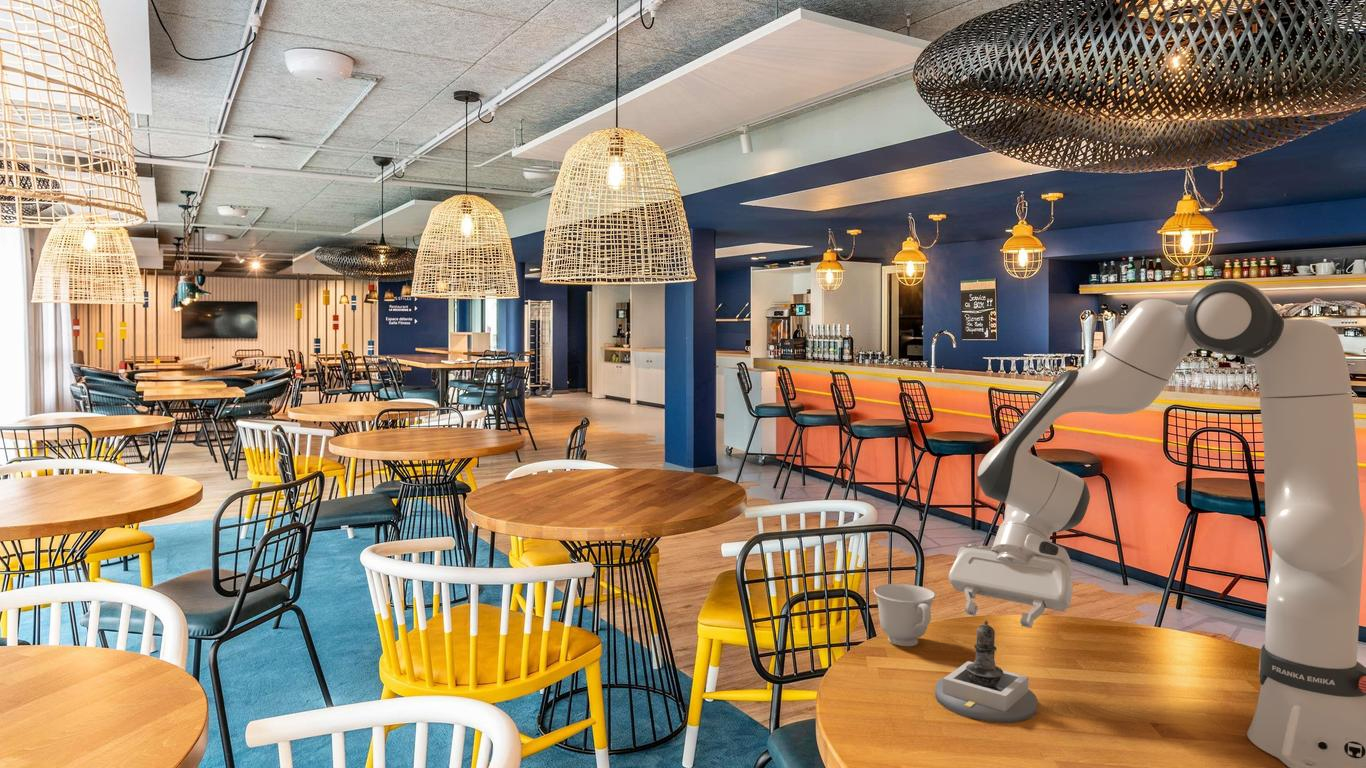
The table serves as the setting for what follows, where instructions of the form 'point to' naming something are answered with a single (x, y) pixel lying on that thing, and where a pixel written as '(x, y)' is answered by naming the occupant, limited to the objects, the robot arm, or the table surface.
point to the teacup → (904, 612)
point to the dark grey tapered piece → (985, 660)
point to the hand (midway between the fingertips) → (997, 619)
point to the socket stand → (987, 697)
